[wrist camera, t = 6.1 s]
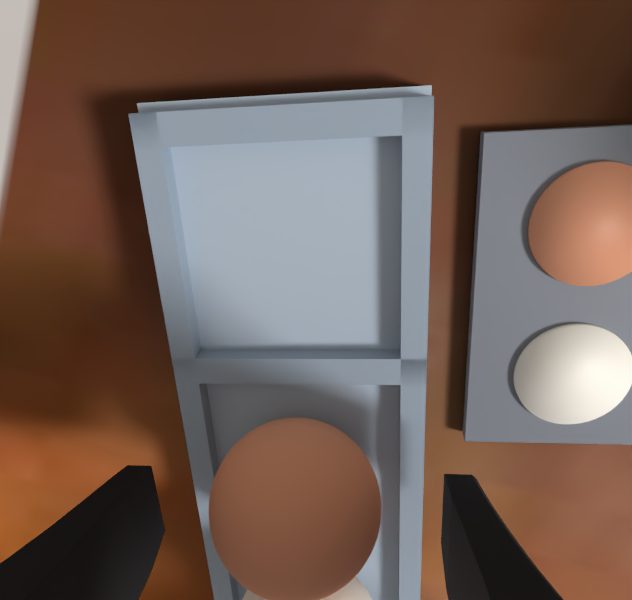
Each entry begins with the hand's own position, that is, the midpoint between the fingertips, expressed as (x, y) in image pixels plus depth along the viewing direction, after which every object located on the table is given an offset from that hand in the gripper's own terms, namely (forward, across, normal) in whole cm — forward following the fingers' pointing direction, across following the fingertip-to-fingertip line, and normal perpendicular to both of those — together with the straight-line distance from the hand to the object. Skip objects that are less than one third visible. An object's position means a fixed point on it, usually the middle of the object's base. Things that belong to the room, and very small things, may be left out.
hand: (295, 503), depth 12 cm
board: (+3, 0, +1) cm, 3 cm away
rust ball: (+2, 0, 0) cm, 2 cm away
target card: (+3, -7, -4) cm, 8 cm away
